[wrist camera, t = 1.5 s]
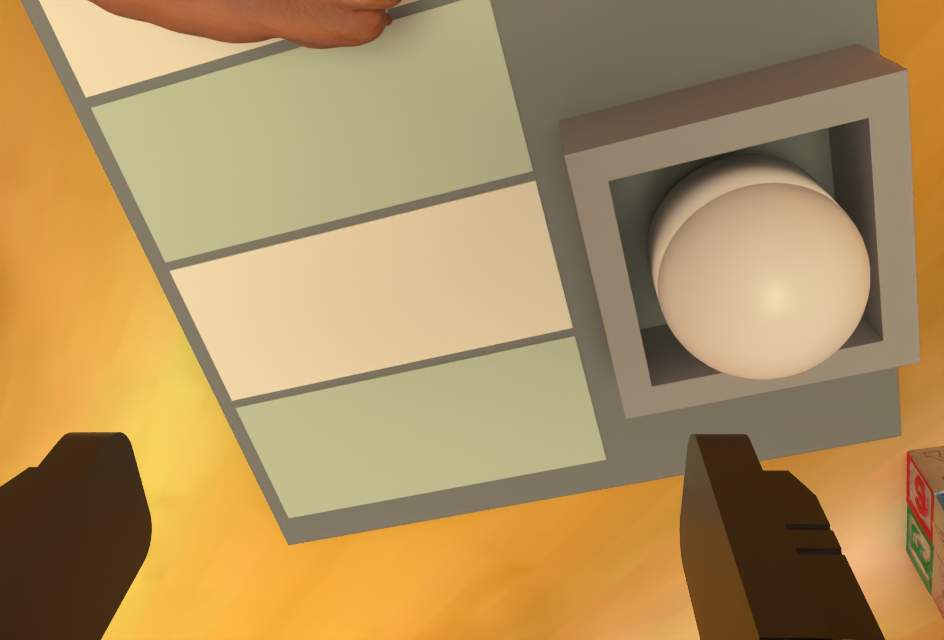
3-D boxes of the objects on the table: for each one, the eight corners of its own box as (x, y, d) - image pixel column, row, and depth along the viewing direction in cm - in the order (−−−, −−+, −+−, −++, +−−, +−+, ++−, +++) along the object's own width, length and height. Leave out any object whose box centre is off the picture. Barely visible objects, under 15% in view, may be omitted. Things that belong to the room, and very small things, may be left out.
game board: (842, -454, 24) (928, -542, 19) (896, 427, 37) (953, 515, 32) (-37, -138, 29) (-157, -141, 24) (291, 536, 42) (259, 626, 37)
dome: (823, 130, 29) (899, 196, 23) (838, 299, 31) (909, 396, 26) (630, 177, 30) (655, 251, 24) (662, 336, 33) (691, 436, 27)
